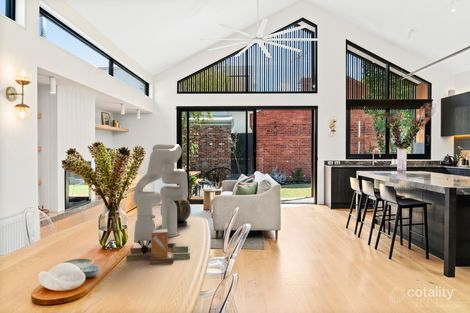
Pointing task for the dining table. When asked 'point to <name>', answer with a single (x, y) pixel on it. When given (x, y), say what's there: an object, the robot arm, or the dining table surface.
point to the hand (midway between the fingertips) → (144, 253)
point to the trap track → (160, 260)
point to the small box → (159, 243)
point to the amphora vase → (182, 211)
